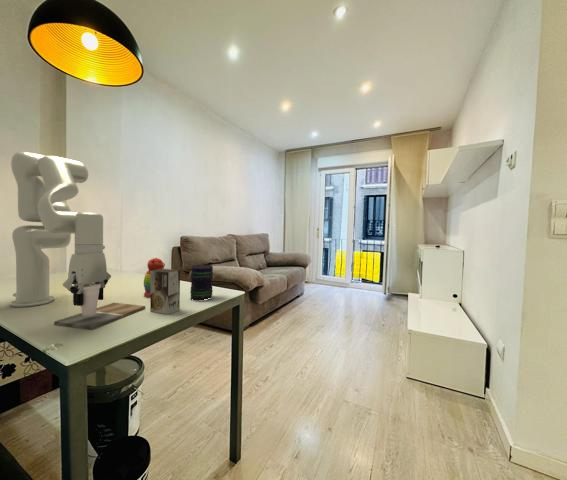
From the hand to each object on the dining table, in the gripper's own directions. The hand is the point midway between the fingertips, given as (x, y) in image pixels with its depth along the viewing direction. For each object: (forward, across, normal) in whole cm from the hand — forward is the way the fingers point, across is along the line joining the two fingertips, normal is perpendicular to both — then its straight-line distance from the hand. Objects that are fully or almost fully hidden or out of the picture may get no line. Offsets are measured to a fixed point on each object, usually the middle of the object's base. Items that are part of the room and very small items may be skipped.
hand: (89, 301), depth 83 cm
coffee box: (+7, -17, +17) cm, 25 cm away
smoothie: (+4, 0, 0) cm, 4 cm away
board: (+7, -6, 0) cm, 9 cm away
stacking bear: (+7, -35, -2) cm, 35 cm away
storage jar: (+7, -37, +21) cm, 43 cm away
